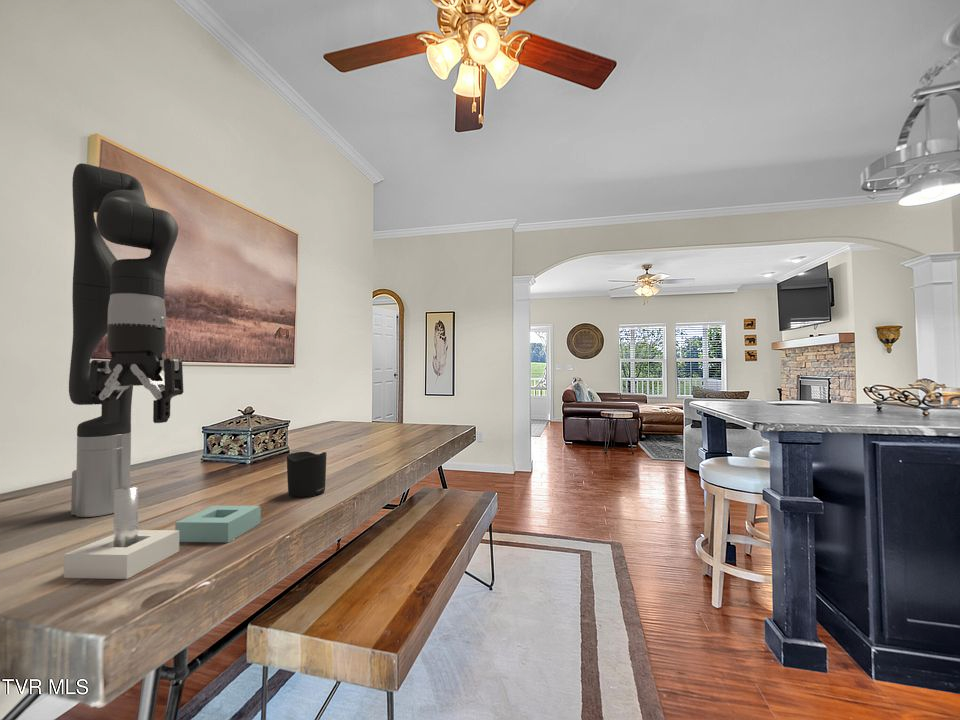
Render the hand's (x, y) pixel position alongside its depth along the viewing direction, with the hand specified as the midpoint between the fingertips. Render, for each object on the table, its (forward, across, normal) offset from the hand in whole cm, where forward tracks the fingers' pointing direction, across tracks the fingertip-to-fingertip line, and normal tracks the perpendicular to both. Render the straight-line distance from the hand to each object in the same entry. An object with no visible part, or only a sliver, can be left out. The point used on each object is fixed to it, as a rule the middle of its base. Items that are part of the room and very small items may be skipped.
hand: (136, 422), depth 70 cm
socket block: (+22, -1, -1) cm, 22 cm away
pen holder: (+22, +10, +40) cm, 47 cm away
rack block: (+22, +5, +13) cm, 26 cm away
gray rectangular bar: (+22, -1, -1) cm, 22 cm away
